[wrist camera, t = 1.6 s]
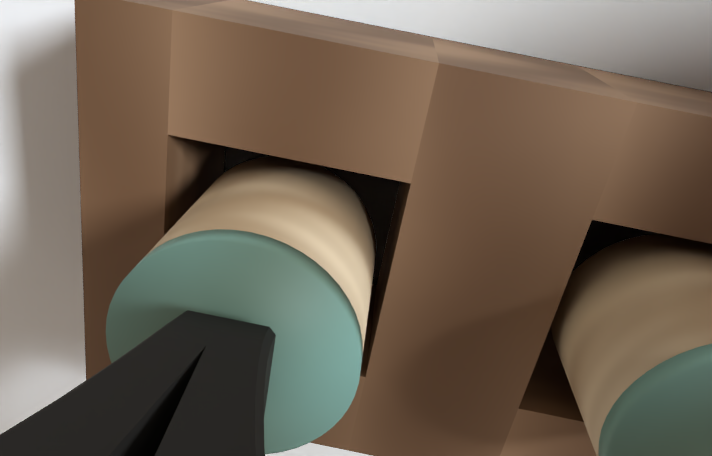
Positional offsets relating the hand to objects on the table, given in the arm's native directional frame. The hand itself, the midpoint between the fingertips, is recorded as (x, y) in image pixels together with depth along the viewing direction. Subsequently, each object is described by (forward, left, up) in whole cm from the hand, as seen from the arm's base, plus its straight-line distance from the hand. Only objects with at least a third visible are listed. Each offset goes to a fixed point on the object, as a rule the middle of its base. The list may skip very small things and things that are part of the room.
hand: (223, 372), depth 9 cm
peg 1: (0, 0, -4) cm, 4 cm away
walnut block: (-4, 0, -7) cm, 8 cm away
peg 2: (-8, 0, -4) cm, 9 cm away
